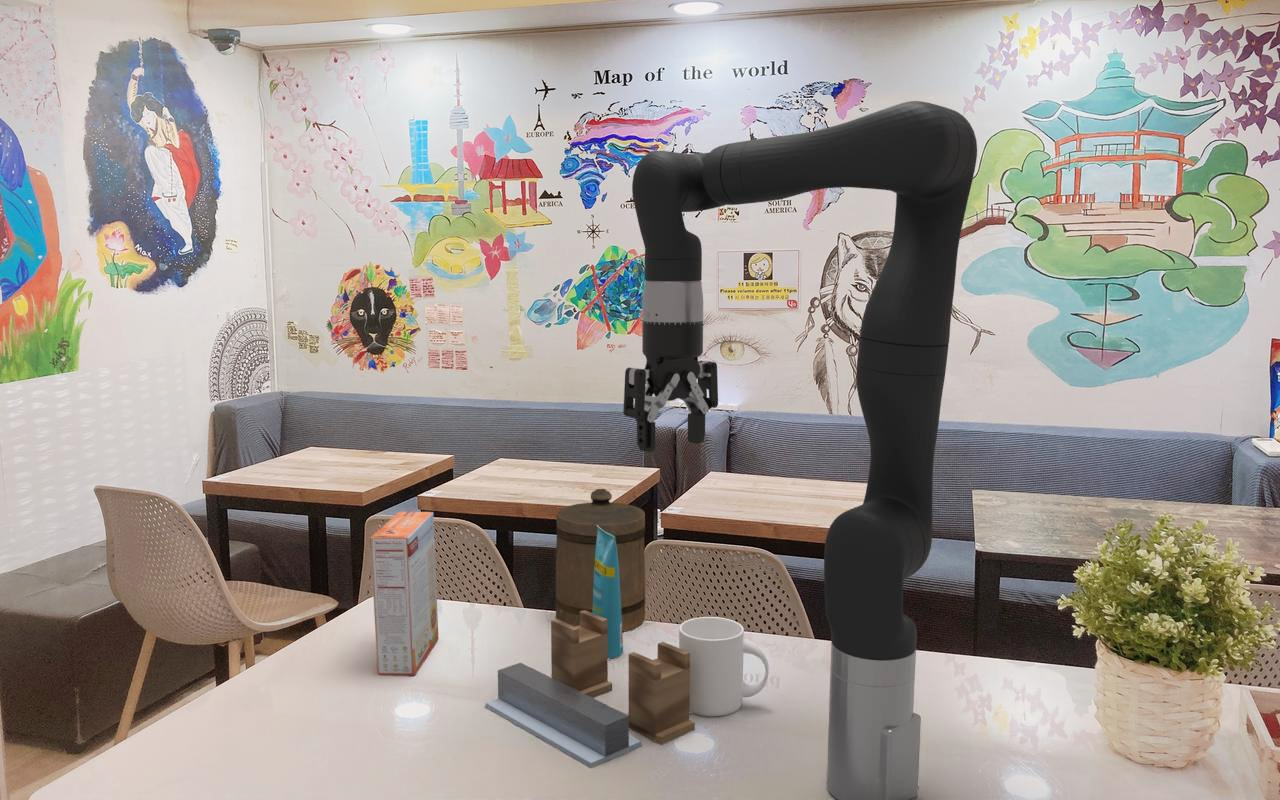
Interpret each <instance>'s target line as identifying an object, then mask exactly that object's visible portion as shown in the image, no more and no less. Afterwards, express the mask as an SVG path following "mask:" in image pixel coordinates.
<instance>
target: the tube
mask: <svg viewBox="0 0 1280 800" xmlns="http://www.w3.org/2000/svg"><path fill="white" fill-rule="evenodd" d="M597 527H598V532H597V540H596V552H595V565H594V585H593V609H592V613H593V614H595V615H598V616H600V617H603V618H605V619H608V660H610V659H615V658H618V657H620V656H621V655H623V653H624V640H623V639H624V638H623V637H624V636H623V635H624V634H623V632H622V614H621V596H620V578H619V565H618V554H617V546H616V540H615V537H614V536H613V535H611V534H609V533H607V532H605V531H603V530H602V529H601V528H600V527H599V526H598V525H597Z"/></svg>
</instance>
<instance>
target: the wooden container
mask: <svg viewBox="0 0 1280 800" xmlns="http://www.w3.org/2000/svg"><path fill="white" fill-rule="evenodd" d="M612 496H613V495H612V493H611V492H610V491H608V490H607V489H606V488H597V489H594V491H592V492H591V493H590V500H591V502H585V503H577V504H571V505H567V506H565V507H563V508H561V509H559V510H558V511H557V514H556V551H555V554H556V556H555V557H556V558H555V619H558V620H560V621H562V622H565V623H567V624H569V625H572V626H574V627H576V626H579V625H580V611H583V610H585V611H588V612H590V613H592V609H593V585H594V565H595V552H596V540H597V532H598V527H597V525H598V526H599V527H600V528H601V529H602V530H603V531H605V532H607V533H609V534H611V535H613V536H614V537H615V540H616V546H617V554H618V565H619V578H620V596H621V614H622V633H623V632H628V631H631V630H634V629H636V628H637V627H639V626H641V625H642V624H643V623H644V621H645V619H646V618H645V617H646V564H645V563H646V560H645V559H646V556H645V554H646V553H645V532H646V513H645V511H644V510H643V509H641V508H640V507H637V506H635V505H632V504H626V503H620V502H610V501H611V500H612Z"/></svg>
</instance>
